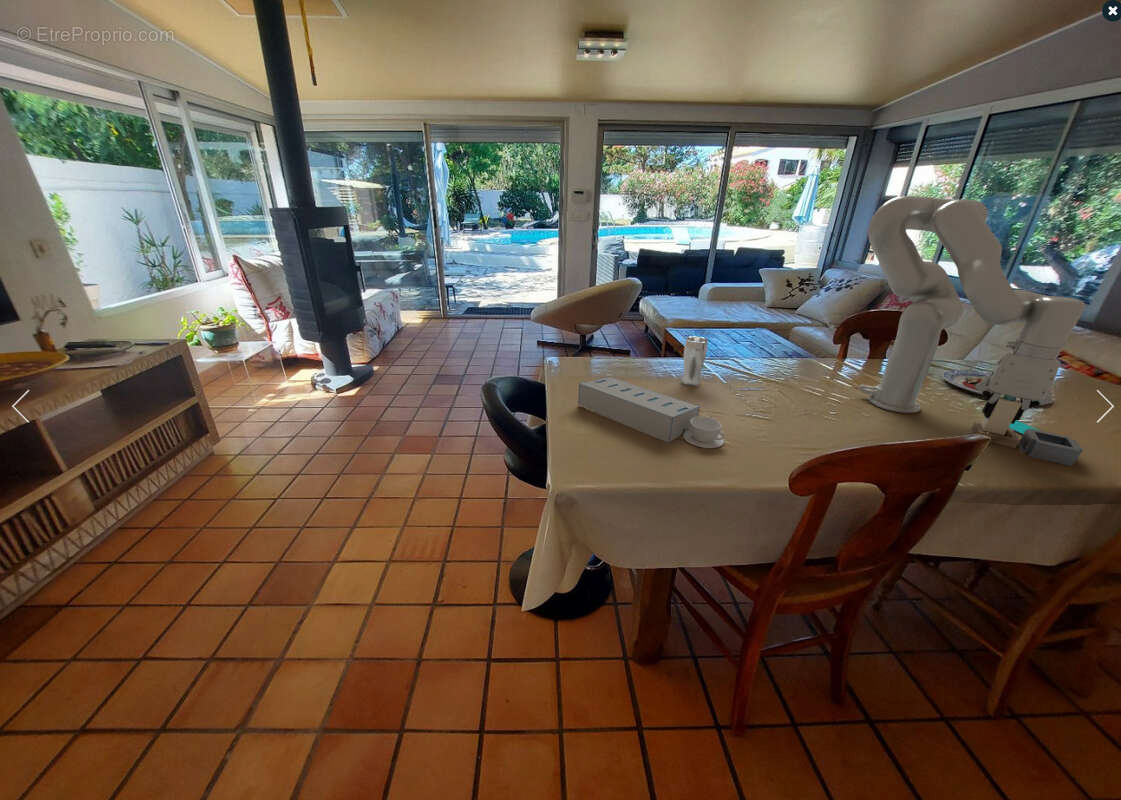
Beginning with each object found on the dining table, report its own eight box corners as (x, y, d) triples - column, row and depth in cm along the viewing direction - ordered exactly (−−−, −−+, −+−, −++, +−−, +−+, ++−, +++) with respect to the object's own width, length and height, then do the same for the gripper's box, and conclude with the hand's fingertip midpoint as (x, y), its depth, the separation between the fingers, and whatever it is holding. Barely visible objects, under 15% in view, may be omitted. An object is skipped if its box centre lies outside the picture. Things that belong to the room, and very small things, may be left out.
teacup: (675, 439, 106) (677, 422, 104) (694, 426, 113) (697, 410, 111) (712, 454, 100) (715, 437, 98) (730, 439, 106) (734, 423, 104)
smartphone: (1052, 447, 104) (990, 419, 117) (1050, 450, 104) (988, 422, 118) (1078, 446, 104) (1013, 418, 118) (1076, 449, 105) (1012, 421, 118)
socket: (1024, 455, 101) (1032, 440, 99) (1016, 441, 107) (1024, 427, 106) (1076, 467, 96) (1085, 452, 95) (1065, 451, 103) (1073, 437, 101)
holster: (975, 438, 108) (978, 431, 107) (971, 427, 114) (974, 421, 113) (1015, 448, 104) (1019, 440, 103) (1009, 436, 110) (1013, 429, 109)
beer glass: (703, 381, 141) (711, 338, 135) (697, 388, 136) (705, 343, 130) (683, 377, 145) (689, 335, 138) (676, 383, 139) (683, 340, 133)
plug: (982, 430, 108) (1002, 393, 104) (980, 424, 111) (999, 388, 107) (1003, 435, 106) (1025, 397, 102) (1001, 429, 109) (1021, 392, 104)
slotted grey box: (696, 425, 114) (700, 399, 110) (669, 444, 104) (672, 417, 101) (608, 393, 132) (610, 371, 129) (578, 407, 123) (579, 383, 120)
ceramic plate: (1067, 413, 124) (1072, 403, 122) (958, 398, 132) (962, 389, 131) (1019, 382, 145) (1023, 374, 144) (928, 371, 154) (931, 364, 153)
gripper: (990, 347, 101) (957, 414, 109) (1092, 362, 92) (1048, 435, 100) (985, 339, 106) (954, 404, 114) (1081, 354, 98) (1040, 423, 106)
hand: (998, 418), depth 107 cm, fingers closed on plug, 4 cm apart
